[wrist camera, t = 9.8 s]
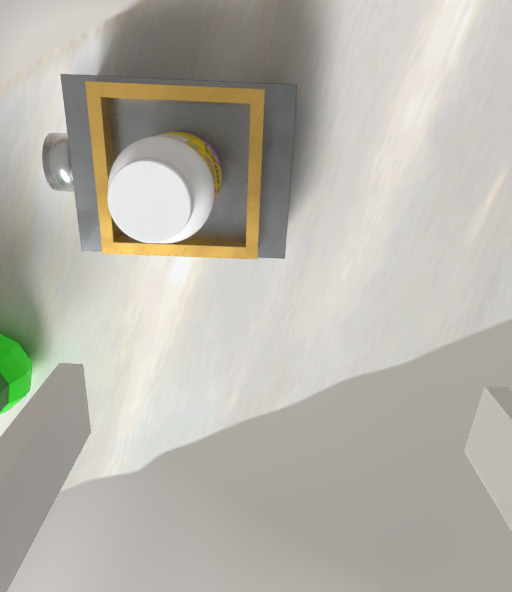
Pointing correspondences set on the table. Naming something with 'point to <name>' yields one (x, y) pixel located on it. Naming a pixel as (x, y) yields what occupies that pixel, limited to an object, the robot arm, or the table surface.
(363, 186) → the table surface
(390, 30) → the table surface
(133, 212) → the supplement bottle
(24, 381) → the plastic bottle
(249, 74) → the table surface
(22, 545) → the robot arm
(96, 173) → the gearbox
